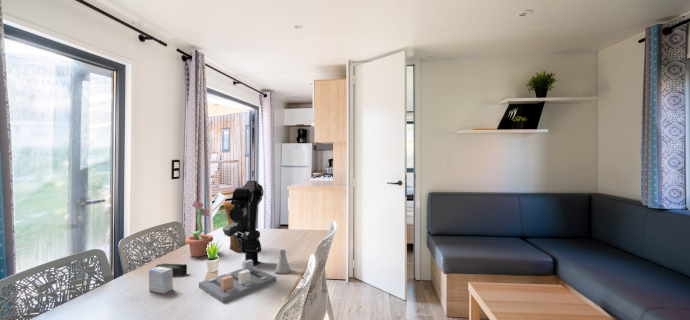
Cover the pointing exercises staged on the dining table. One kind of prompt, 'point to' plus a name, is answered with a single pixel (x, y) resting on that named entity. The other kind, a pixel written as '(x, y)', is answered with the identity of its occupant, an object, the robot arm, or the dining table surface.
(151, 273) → the medicine box
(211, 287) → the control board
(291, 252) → the dining table surface
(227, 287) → the salmon pink cuboid
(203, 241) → the decorative flower
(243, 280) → the ivory cuboid
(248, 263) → the grey small block
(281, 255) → the flask
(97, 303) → the dining table surface
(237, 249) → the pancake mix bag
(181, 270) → the dark green block
